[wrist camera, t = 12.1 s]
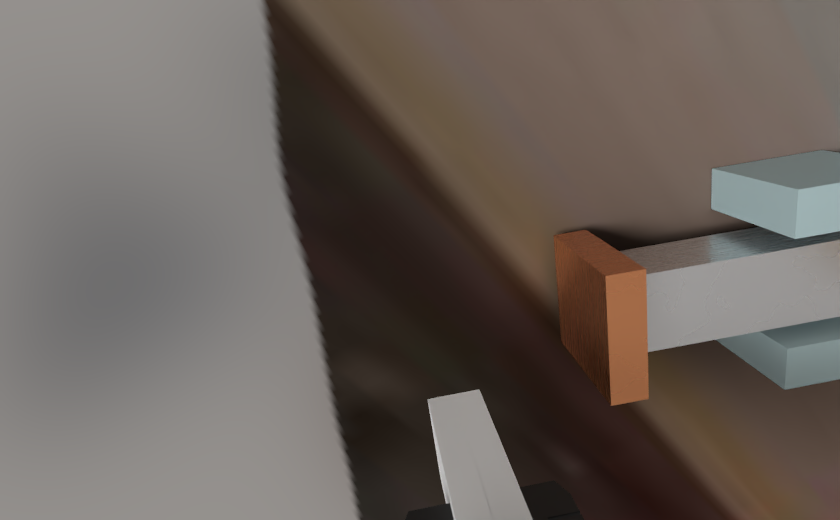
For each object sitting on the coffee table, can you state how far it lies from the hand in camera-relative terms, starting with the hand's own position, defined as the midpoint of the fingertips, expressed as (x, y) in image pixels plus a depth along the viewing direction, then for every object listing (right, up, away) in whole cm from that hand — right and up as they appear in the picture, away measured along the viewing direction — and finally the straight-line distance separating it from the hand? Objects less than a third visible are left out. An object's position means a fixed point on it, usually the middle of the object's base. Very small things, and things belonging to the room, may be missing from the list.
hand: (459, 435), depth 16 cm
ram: (+11, +5, +8) cm, 15 cm away
